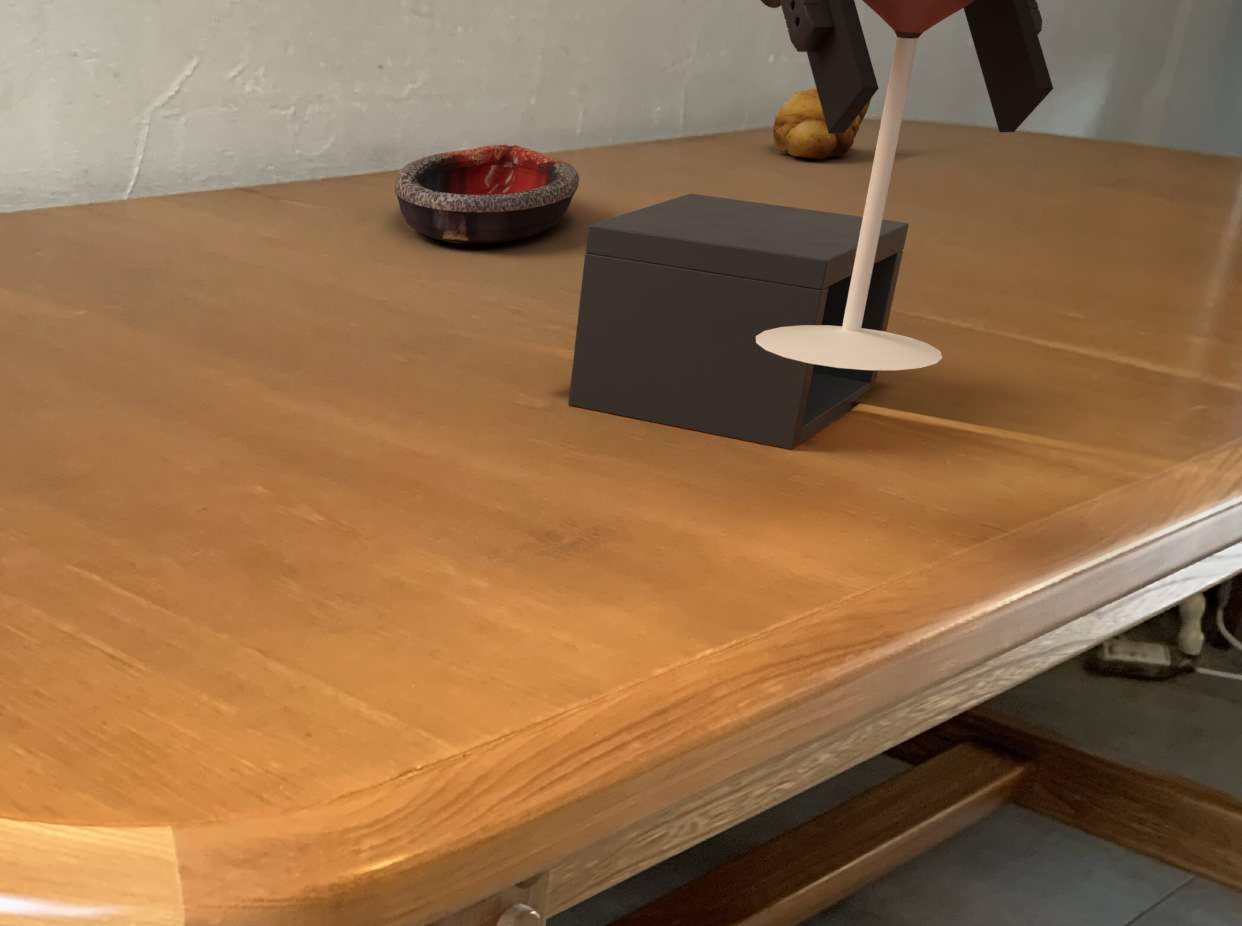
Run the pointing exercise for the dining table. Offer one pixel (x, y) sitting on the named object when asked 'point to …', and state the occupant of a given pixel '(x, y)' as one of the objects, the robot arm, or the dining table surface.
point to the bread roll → (811, 128)
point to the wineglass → (872, 224)
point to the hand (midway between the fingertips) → (940, 110)
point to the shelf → (723, 315)
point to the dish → (485, 194)
